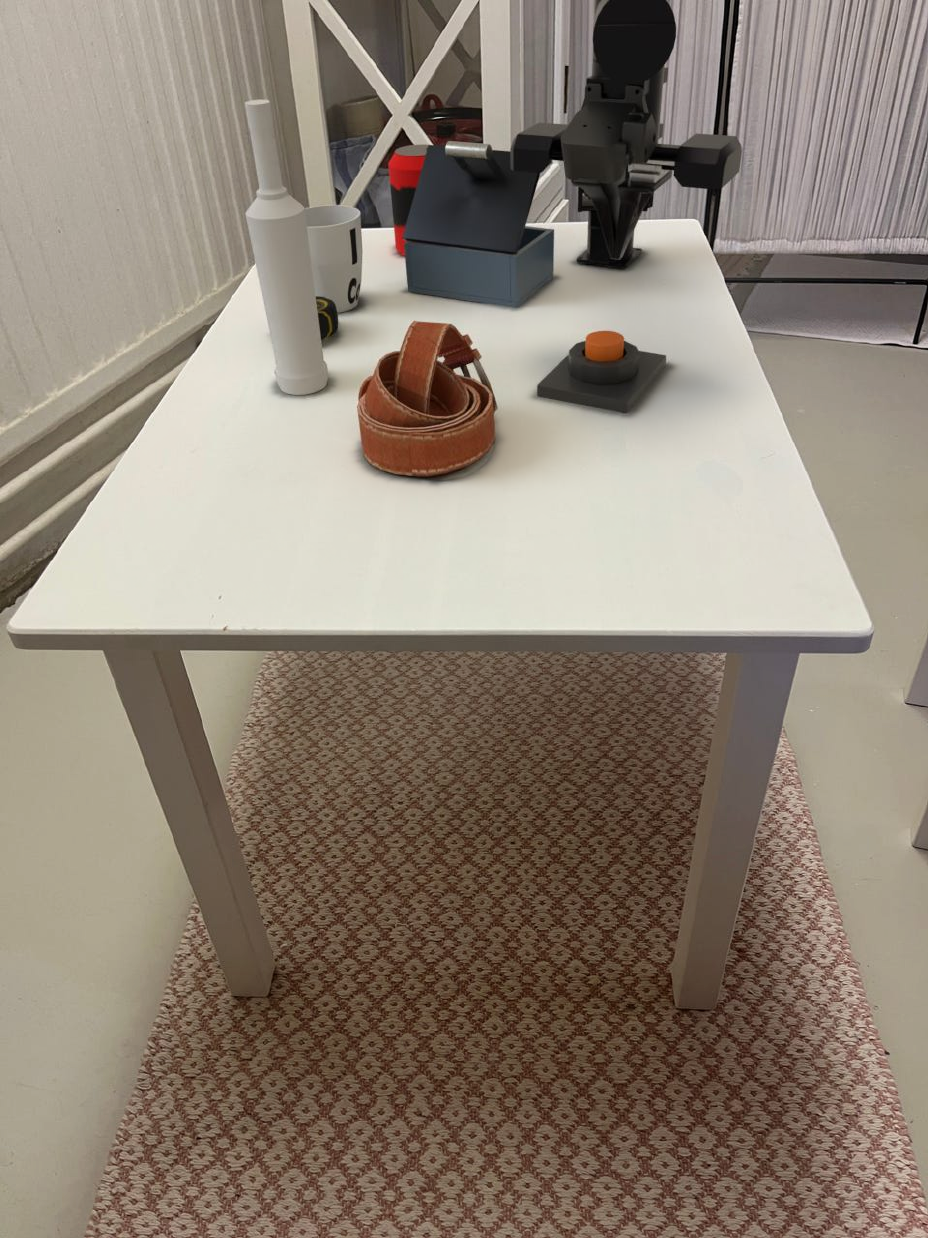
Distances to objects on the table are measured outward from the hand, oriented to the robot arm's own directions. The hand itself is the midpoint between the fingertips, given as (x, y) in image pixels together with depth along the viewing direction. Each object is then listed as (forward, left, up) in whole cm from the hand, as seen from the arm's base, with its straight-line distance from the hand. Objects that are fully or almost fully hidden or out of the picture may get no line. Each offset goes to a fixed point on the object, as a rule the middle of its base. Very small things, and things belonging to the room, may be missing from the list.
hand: (616, 257), depth 84 cm
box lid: (-16, -23, -1) cm, 28 cm away
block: (+2, 0, -11) cm, 11 cm away
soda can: (-26, -36, -12) cm, 46 cm away
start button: (+2, 0, -9) cm, 9 cm away
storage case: (-17, -23, -11) cm, 31 cm away
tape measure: (+4, -34, -12) cm, 36 cm away
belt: (+19, -10, -12) cm, 24 cm away
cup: (-5, -36, -12) cm, 38 cm away
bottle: (+14, -27, -12) cm, 32 cm away
